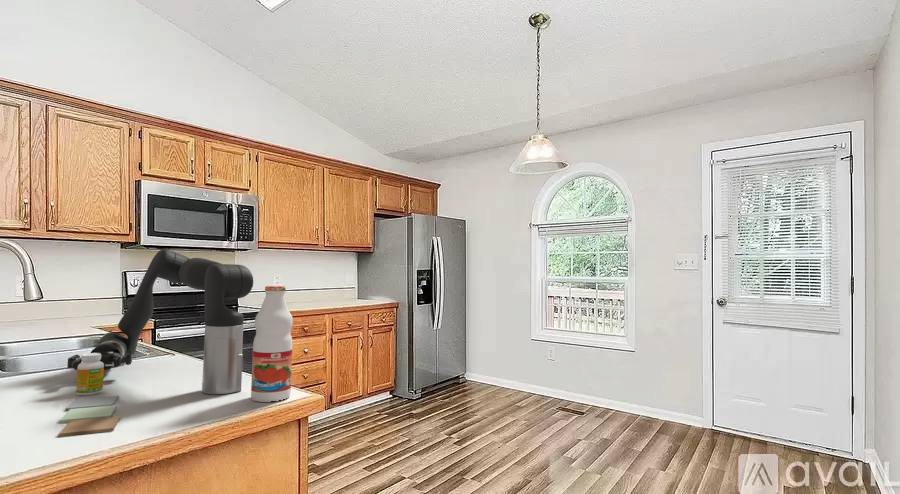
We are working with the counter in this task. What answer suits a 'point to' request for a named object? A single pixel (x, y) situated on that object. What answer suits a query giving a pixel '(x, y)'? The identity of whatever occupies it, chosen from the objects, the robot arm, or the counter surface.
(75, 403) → the slate pad
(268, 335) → the fruit juice
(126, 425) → the counter surface
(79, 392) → the supplement bottle
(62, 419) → the sage pad
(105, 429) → the walnut pad
